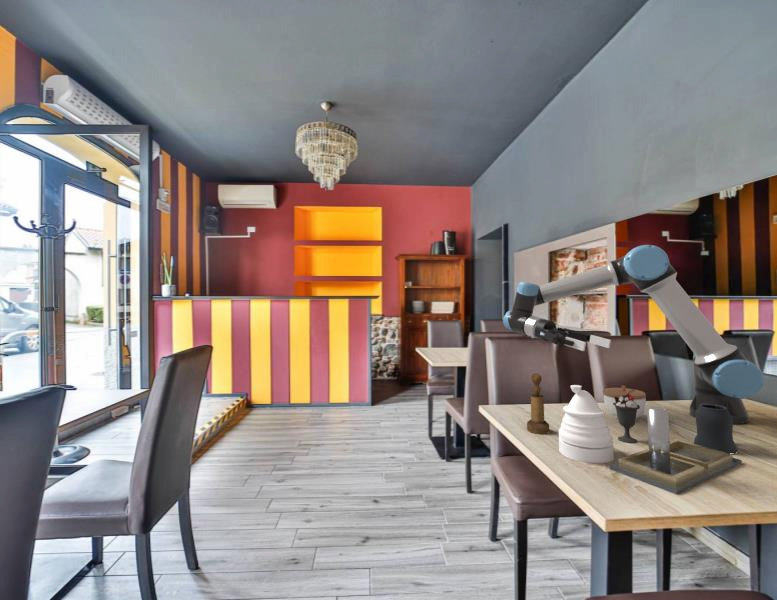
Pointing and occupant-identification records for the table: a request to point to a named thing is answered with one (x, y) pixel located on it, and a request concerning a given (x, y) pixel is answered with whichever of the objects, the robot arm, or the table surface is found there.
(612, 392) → the lidded bowl
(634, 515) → the table surface
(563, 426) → the honey pot
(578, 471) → the table surface
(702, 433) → the mug
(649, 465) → the olive compartment tray
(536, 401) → the brown pedestal figurine
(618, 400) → the sundae
